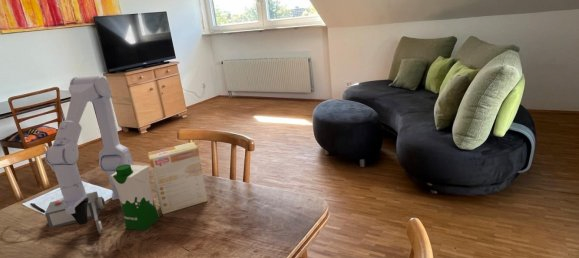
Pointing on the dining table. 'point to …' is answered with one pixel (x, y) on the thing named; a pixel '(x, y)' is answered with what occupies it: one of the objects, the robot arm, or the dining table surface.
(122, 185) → the milk carton
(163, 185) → the coffeecake box
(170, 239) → the dining table surface
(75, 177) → the robot arm
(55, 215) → the box
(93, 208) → the side door
